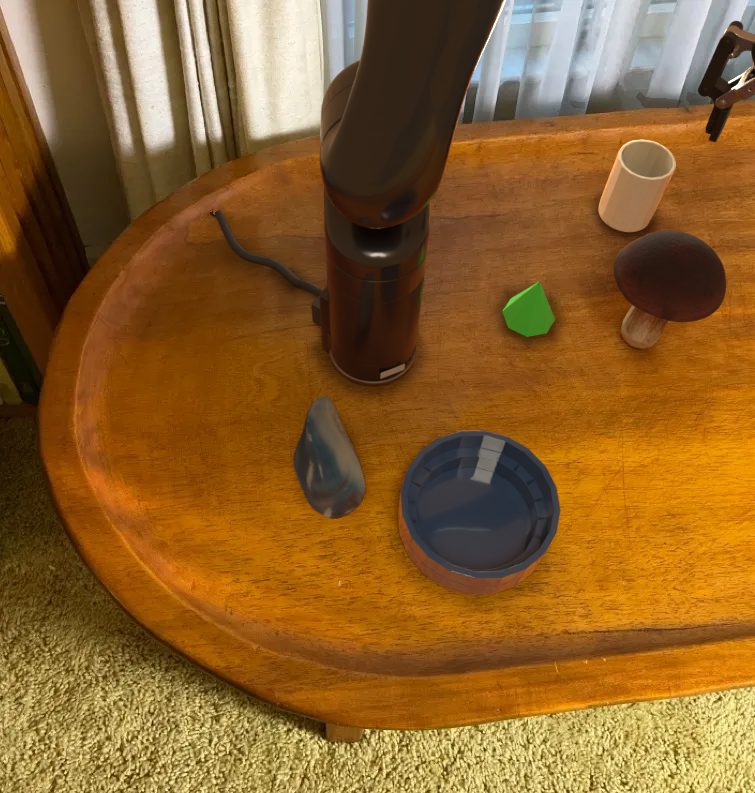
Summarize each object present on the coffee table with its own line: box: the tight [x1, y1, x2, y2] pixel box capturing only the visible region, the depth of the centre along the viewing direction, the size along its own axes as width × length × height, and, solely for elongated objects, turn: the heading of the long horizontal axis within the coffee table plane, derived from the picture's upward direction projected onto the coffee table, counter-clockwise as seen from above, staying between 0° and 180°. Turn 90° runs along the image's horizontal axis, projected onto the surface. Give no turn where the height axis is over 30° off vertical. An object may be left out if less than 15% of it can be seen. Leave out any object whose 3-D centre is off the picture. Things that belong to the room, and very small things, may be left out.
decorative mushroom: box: [612, 229, 727, 350], centre depth 78 cm, size 11×11×15 cm
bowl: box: [397, 429, 561, 596], centre depth 70 cm, size 14×14×6 cm
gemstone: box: [501, 281, 556, 338], centre depth 83 cm, size 6×6×6 cm
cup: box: [597, 139, 677, 233], centre depth 91 cm, size 6×6×8 cm
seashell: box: [293, 396, 366, 520], centre depth 73 cm, size 6×9×10 cm
